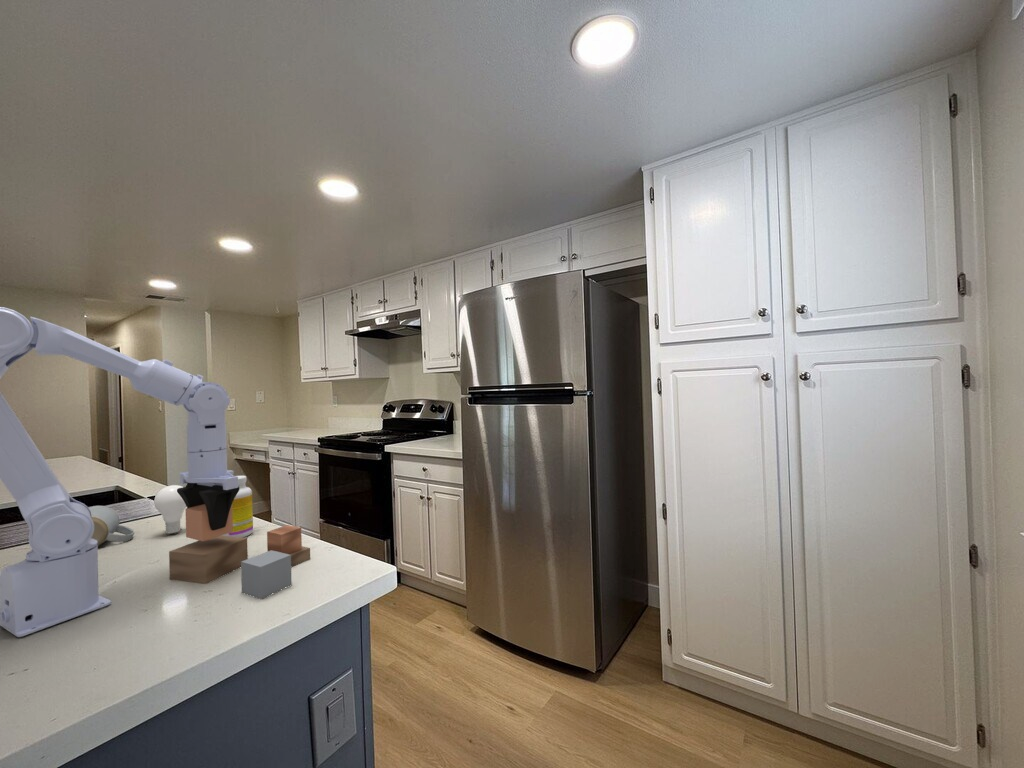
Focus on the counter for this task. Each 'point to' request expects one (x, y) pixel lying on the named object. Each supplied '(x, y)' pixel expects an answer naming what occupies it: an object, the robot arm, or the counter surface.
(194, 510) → the terracotta block
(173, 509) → the lightbulb
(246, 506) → the supplement bottle
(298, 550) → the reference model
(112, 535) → the ceramic mug
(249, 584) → the grey block
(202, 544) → the walnut base
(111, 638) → the counter surface
